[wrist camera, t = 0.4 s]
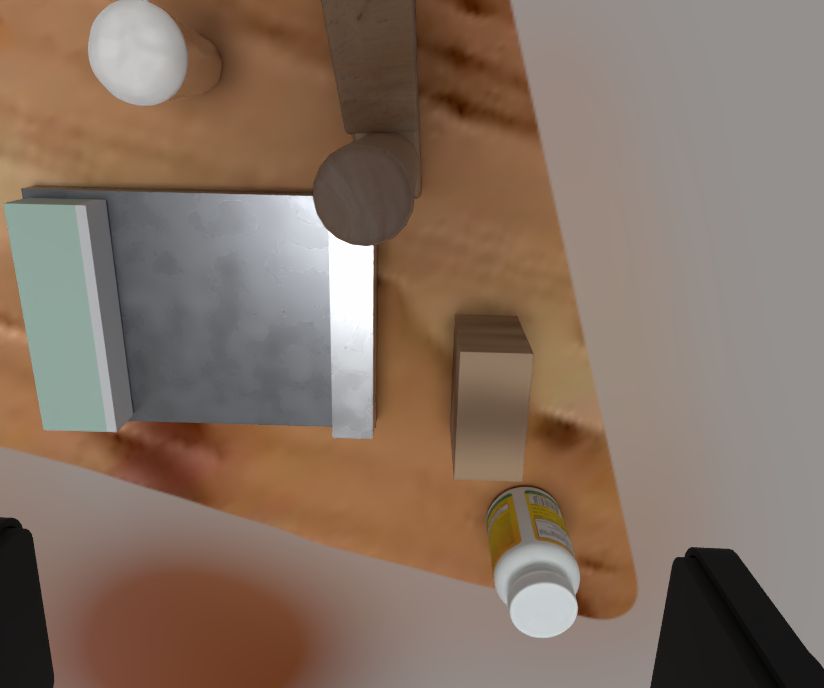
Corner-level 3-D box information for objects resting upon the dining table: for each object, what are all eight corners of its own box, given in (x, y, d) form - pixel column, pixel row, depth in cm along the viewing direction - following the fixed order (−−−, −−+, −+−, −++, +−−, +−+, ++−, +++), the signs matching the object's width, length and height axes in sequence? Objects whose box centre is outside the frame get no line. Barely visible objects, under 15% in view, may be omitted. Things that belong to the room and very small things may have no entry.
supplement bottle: (554, 477, 47) (584, 566, 38) (565, 541, 49) (597, 639, 40) (478, 491, 48) (491, 581, 39) (492, 553, 49) (507, 654, 40)
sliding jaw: (28, 197, 40) (3, 203, 37) (105, 199, 40) (85, 205, 37) (63, 412, 44) (43, 429, 42) (133, 414, 44) (116, 432, 42)
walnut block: (455, 314, 43) (460, 351, 37) (517, 316, 43) (533, 353, 37) (449, 426, 46) (454, 479, 40) (508, 427, 46) (522, 481, 39)
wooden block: (415, -7, 37) (406, -101, 20) (422, 191, 41) (419, 251, 24) (349, -4, 37) (285, -95, 20) (361, 193, 41) (316, 255, 24)
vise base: (35, 185, 41) (-5, 194, 37) (378, 194, 41) (373, 203, 37) (71, 409, 46) (39, 436, 42) (376, 418, 46) (372, 445, 42)
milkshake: (243, 18, 38) (182, -12, 28) (226, 115, 40) (164, 118, 30) (162, -6, 37) (74, -43, 28) (150, 93, 39) (62, 89, 30)
